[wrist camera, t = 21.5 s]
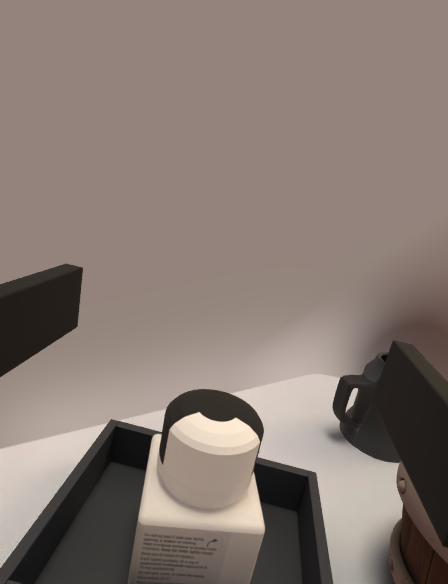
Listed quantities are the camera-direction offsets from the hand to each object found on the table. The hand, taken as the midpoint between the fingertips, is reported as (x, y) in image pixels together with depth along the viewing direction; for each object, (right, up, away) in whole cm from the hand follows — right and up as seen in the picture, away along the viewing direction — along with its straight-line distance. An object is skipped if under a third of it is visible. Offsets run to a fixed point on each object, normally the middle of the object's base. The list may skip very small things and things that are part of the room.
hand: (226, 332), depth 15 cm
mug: (+19, -18, +33) cm, 42 cm away
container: (-3, -18, +12) cm, 22 cm away
